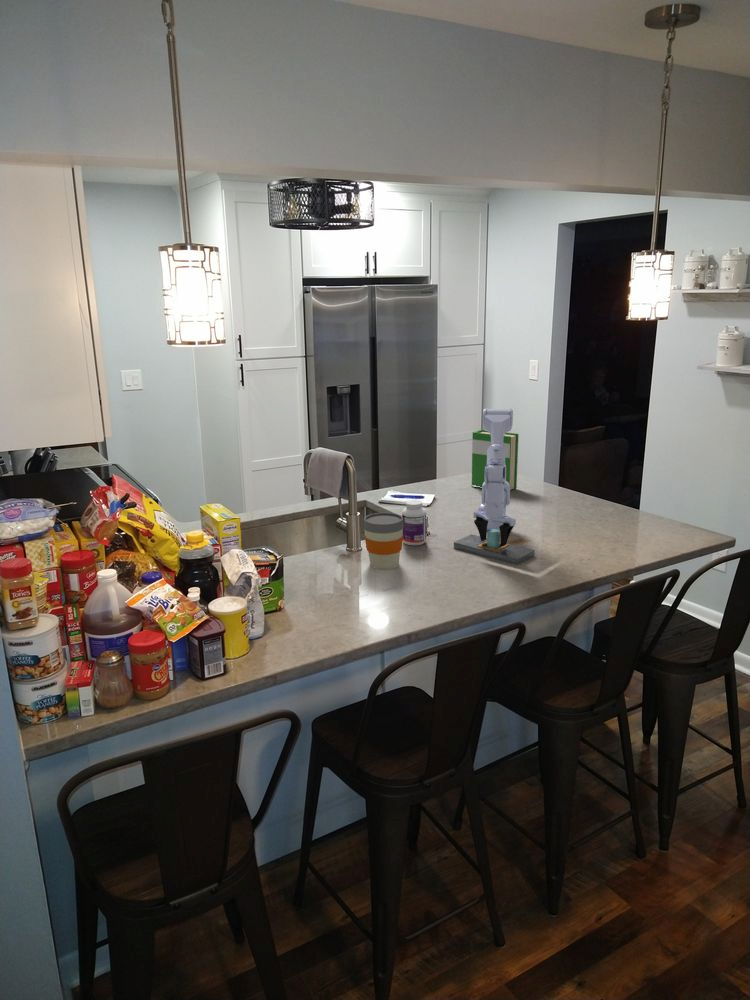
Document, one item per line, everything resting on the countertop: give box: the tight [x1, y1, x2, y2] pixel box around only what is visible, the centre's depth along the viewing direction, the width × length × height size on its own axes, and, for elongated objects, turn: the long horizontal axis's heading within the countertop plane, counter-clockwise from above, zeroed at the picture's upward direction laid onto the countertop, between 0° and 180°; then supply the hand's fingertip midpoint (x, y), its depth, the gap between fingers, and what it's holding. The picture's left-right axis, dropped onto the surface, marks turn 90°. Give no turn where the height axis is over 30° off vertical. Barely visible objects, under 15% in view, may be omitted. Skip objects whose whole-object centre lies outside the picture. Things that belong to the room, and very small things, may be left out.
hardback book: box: [471, 429, 519, 491], centre depth 302 cm, size 18×7×24 cm, turn 52°
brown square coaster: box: [500, 535, 532, 547], centre depth 238 cm, size 8×8×1 cm
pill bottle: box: [401, 499, 427, 547], centre depth 239 cm, size 8×8×14 cm
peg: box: [486, 529, 501, 549], centre depth 228 cm, size 4×4×8 cm
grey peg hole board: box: [453, 533, 535, 569], centre depth 228 cm, size 24×10×3 cm, turn 48°
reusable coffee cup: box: [363, 512, 404, 570], centre depth 221 cm, size 13×13×15 cm
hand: (493, 542), depth 228 cm, fingers open, 7 cm apart
